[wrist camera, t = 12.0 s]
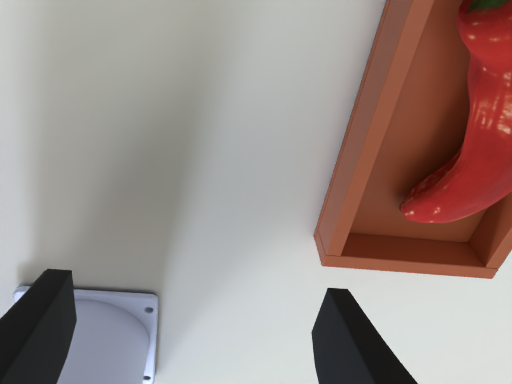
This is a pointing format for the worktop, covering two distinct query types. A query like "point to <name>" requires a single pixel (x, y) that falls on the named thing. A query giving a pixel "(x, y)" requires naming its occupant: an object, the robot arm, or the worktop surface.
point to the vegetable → (475, 124)
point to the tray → (408, 155)
